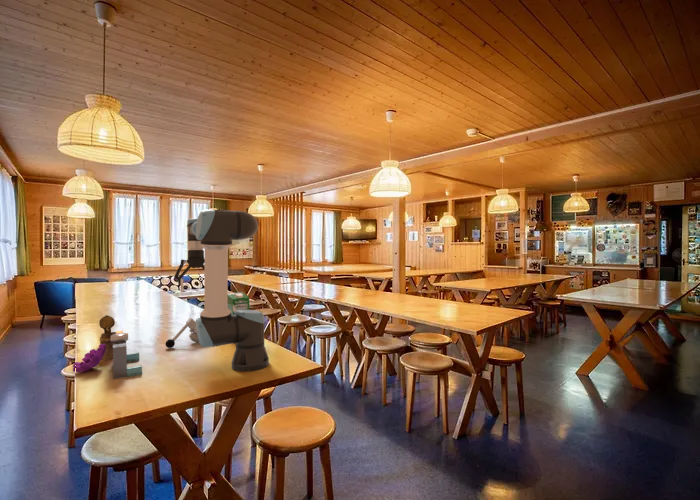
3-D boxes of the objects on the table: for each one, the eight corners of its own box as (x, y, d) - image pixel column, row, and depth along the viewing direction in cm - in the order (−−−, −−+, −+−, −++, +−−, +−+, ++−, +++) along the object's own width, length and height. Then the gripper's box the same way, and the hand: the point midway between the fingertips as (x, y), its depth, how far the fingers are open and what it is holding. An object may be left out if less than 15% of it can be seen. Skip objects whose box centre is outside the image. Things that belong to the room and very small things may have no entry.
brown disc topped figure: (118, 351, 173) (117, 313, 173) (122, 357, 163) (122, 318, 163) (95, 354, 168) (95, 316, 167) (98, 362, 157) (98, 321, 157)
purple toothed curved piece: (106, 362, 156) (105, 340, 156) (106, 373, 144) (105, 349, 143) (73, 368, 150) (72, 345, 150) (70, 379, 137) (69, 354, 137)
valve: (214, 334, 188) (194, 316, 182) (190, 364, 178) (167, 345, 171) (205, 333, 195) (186, 315, 189) (181, 361, 185) (159, 343, 178)
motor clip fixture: (142, 374, 141) (141, 338, 141) (110, 380, 136) (110, 342, 136) (139, 359, 160) (138, 327, 160) (111, 363, 155) (111, 330, 155)
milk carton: (233, 343, 185) (232, 294, 185) (226, 339, 192) (226, 293, 192) (250, 340, 191) (249, 293, 191) (243, 336, 198) (242, 291, 198)
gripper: (222, 249, 189) (223, 289, 189) (170, 250, 182) (171, 292, 182) (221, 249, 181) (222, 291, 182) (167, 249, 175) (167, 293, 175)
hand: (196, 291), depth 182 cm, fingers open, 13 cm apart
